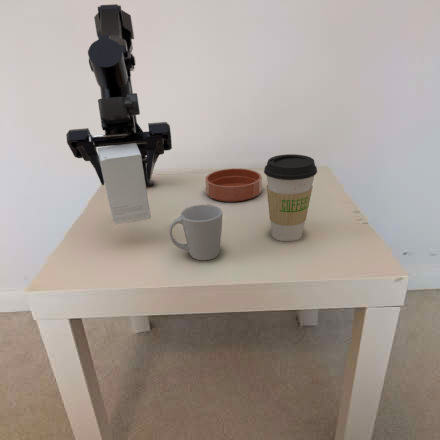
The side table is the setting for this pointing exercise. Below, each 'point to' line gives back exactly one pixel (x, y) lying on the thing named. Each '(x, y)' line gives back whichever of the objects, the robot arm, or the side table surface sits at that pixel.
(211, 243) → the cup
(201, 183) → the side table surface
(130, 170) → the white packaging box
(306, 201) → the coffee cup
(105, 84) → the robot arm
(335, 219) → the side table surface
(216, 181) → the bowl
